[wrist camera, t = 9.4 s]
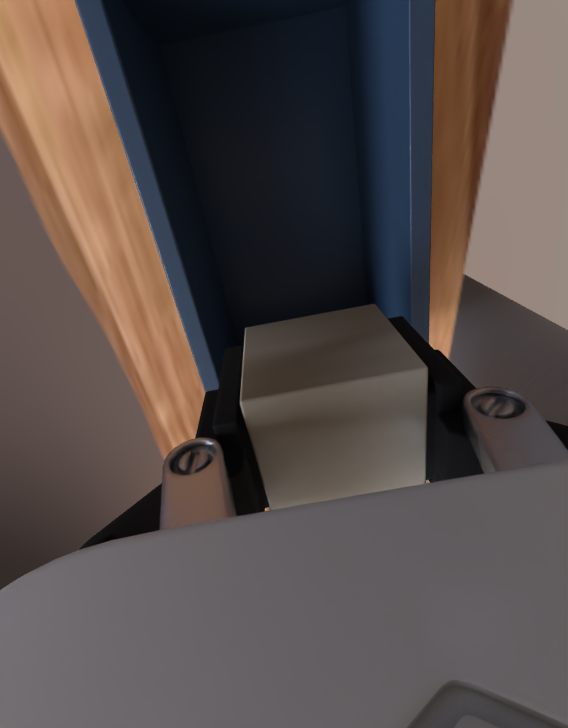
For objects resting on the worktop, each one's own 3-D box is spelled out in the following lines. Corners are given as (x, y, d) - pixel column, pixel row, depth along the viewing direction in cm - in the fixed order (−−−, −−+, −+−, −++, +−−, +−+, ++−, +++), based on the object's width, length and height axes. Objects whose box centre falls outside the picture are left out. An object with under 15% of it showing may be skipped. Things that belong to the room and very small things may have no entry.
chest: (377, 330, 22) (428, 402, 16) (231, 356, 23) (220, 438, 16) (357, -14, 15) (439, -158, 8) (142, 32, 15) (49, -72, 8)
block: (375, 302, 11) (429, 367, 8) (381, 409, 13) (426, 500, 9) (244, 326, 11) (238, 401, 8) (269, 429, 13) (274, 526, 10)
